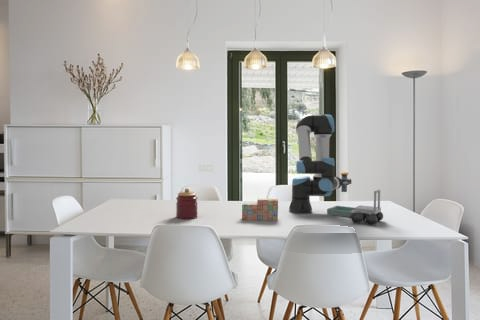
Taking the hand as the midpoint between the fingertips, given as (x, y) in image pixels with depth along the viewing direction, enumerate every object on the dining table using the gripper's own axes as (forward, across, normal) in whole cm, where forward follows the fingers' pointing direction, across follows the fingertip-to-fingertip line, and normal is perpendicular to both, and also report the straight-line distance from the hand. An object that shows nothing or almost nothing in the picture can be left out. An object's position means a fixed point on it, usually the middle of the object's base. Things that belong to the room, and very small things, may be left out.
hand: (347, 180), depth 242 cm
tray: (-5, 0, -22) cm, 22 cm away
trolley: (-21, +20, -22) cm, 36 cm away
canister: (-75, -73, -22) cm, 107 cm away
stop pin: (-5, 0, -7) cm, 9 cm away
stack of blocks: (-53, -34, -22) cm, 67 cm away
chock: (-15, +10, -22) cm, 28 cm away
